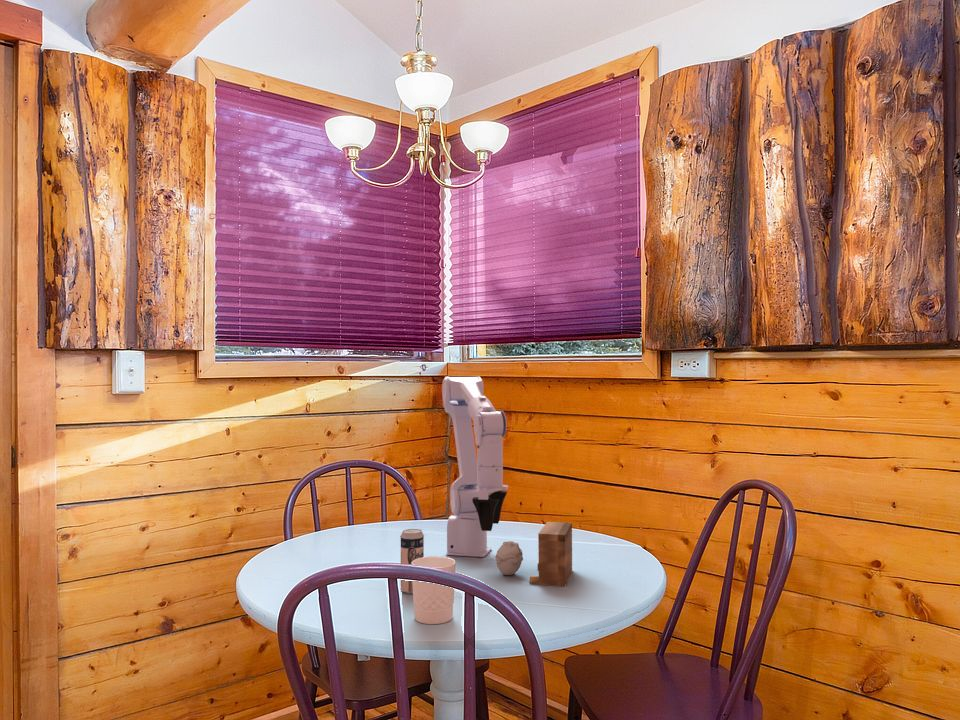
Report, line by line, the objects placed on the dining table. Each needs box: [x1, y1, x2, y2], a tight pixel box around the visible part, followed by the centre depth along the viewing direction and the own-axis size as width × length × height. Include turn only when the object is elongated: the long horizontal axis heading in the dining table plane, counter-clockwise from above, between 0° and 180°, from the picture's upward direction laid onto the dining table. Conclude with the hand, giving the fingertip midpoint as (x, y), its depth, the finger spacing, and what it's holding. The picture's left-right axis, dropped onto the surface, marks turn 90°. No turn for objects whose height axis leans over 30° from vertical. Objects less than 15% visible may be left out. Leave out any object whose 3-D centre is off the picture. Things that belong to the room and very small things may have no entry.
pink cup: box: [411, 555, 456, 625], centre depth 127 cm, size 8×8×10 cm
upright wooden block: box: [529, 521, 573, 587], centre depth 152 cm, size 8×12×10 cm, turn 166°
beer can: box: [399, 528, 425, 595], centre depth 143 cm, size 5×5×12 cm
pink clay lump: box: [494, 540, 524, 576], centre depth 154 cm, size 6×7×7 cm
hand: (490, 526), depth 158 cm, fingers open, 7 cm apart
